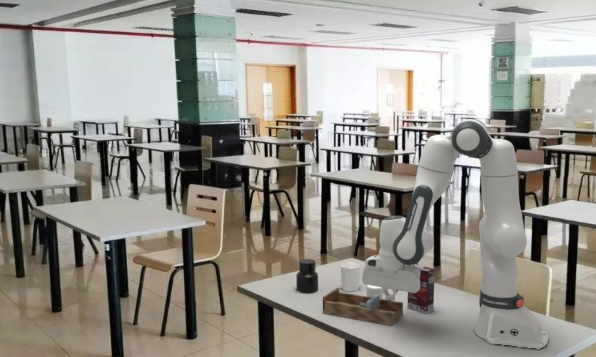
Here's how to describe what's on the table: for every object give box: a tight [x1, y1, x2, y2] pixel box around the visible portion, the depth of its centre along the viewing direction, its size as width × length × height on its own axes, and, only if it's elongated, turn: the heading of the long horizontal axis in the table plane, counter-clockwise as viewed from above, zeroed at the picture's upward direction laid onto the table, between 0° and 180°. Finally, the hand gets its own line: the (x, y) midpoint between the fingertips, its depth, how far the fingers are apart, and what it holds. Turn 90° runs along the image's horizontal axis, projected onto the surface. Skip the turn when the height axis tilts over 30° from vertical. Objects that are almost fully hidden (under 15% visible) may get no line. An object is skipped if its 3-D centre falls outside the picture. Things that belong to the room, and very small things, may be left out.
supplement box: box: [406, 263, 436, 314], centre depth 214 cm, size 9×5×16 cm, turn 47°
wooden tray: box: [322, 287, 404, 327], centre depth 211 cm, size 26×12×6 cm, turn 61°
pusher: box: [360, 294, 380, 310], centre depth 209 cm, size 6×9×5 cm, turn 151°
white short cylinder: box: [365, 284, 385, 299], centre depth 221 cm, size 7×7×7 cm
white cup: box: [340, 262, 361, 293], centre depth 237 cm, size 8×8×10 cm
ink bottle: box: [295, 258, 319, 294], centre depth 237 cm, size 10×9×12 cm
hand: (389, 300), depth 205 cm, fingers closed
